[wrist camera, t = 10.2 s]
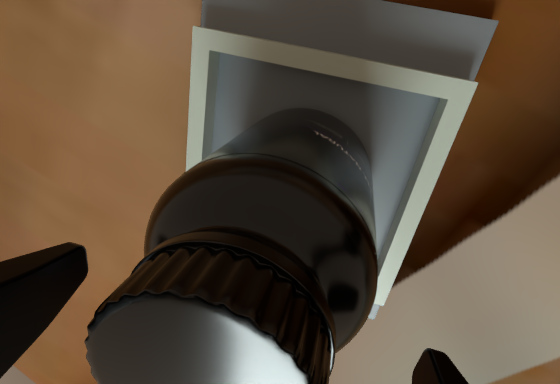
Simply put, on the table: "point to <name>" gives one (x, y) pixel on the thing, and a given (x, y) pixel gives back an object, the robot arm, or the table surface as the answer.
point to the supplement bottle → (249, 264)
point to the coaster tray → (343, 90)
